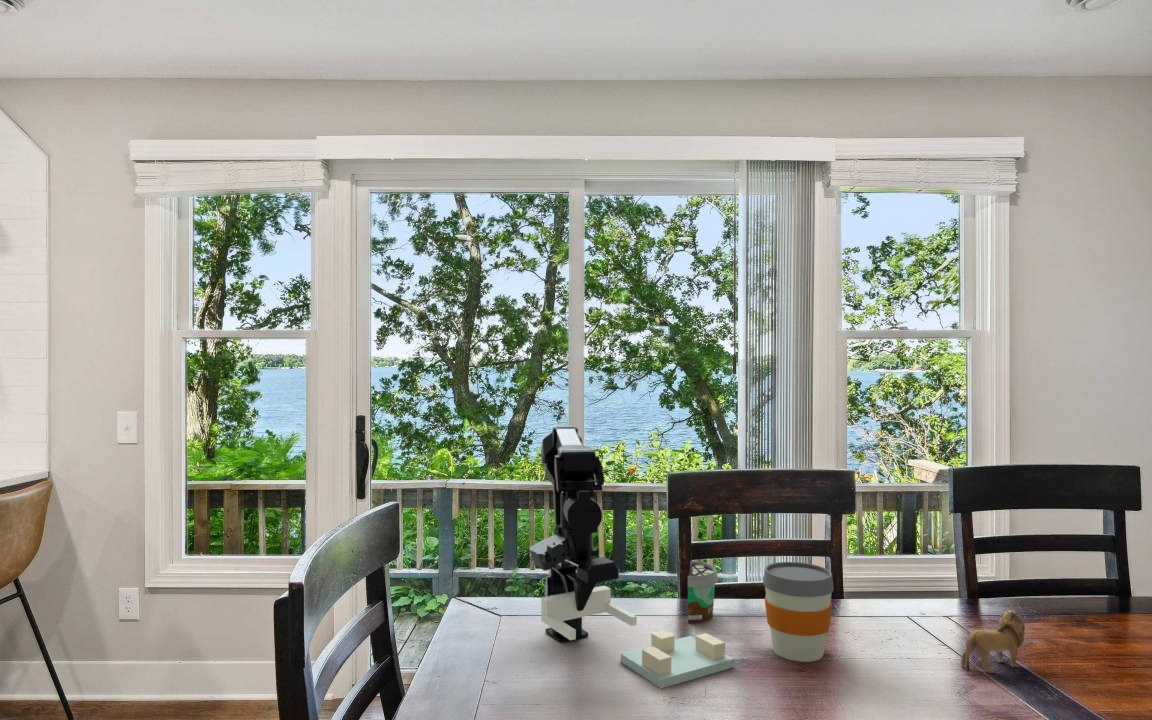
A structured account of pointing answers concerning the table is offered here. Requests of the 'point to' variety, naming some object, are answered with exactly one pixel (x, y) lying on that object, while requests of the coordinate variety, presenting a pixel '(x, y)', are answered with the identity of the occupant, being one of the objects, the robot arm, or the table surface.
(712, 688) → the table surface
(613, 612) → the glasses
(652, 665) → the display stand
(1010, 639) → the lion figurine
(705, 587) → the food container
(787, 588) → the reusable coffee cup
